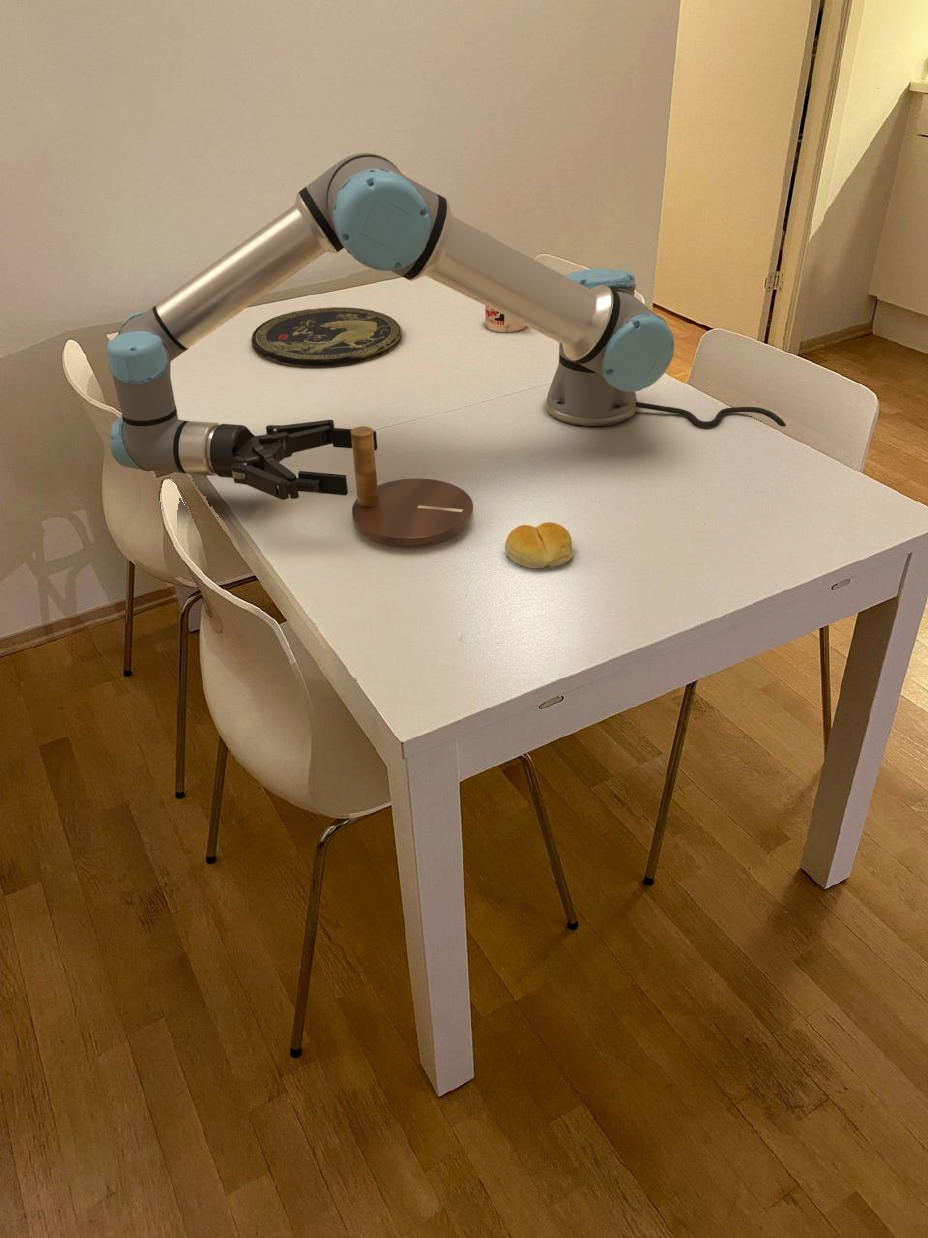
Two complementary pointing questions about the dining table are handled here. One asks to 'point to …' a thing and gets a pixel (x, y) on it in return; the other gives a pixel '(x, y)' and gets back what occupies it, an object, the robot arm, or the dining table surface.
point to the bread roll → (539, 545)
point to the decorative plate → (326, 337)
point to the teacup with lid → (501, 321)
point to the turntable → (404, 502)
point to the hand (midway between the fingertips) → (362, 462)
